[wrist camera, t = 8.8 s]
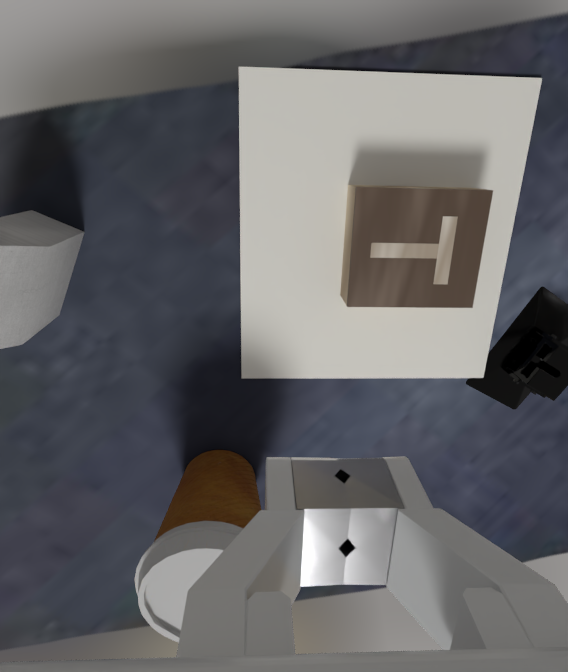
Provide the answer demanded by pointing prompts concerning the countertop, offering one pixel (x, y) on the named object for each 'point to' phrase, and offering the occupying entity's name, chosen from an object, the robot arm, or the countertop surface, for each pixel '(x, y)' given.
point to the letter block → (413, 245)
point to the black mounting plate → (529, 354)
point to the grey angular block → (33, 273)
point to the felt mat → (330, 212)
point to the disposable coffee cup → (194, 534)
